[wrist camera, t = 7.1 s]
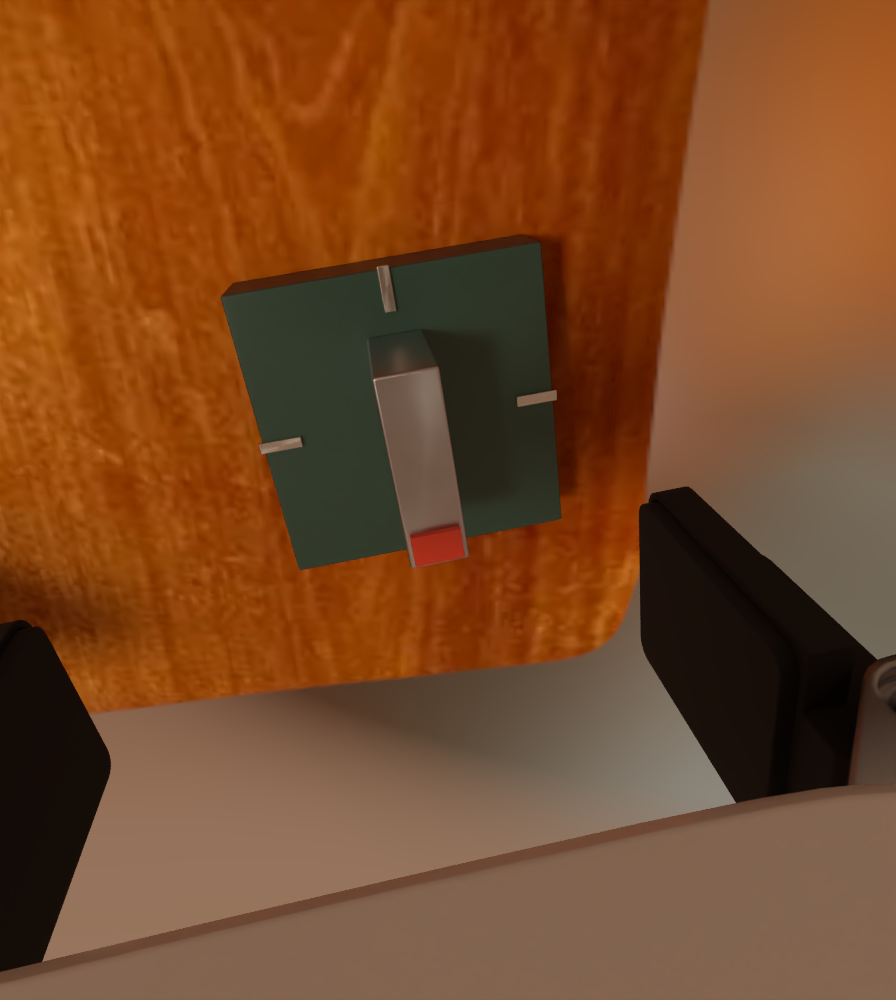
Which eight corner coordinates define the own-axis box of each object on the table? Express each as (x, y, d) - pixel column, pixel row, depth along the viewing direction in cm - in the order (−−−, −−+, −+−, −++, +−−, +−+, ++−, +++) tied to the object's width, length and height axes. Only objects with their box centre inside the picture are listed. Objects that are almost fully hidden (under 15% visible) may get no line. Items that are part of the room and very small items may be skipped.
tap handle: (366, 338, 22) (371, 381, 18) (421, 328, 22) (440, 368, 18) (400, 503, 25) (412, 574, 20) (449, 493, 25) (471, 561, 20)
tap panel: (227, 280, 23) (214, 294, 20) (524, 230, 23) (545, 237, 21) (300, 540, 28) (296, 576, 25) (547, 493, 28) (566, 523, 26)
